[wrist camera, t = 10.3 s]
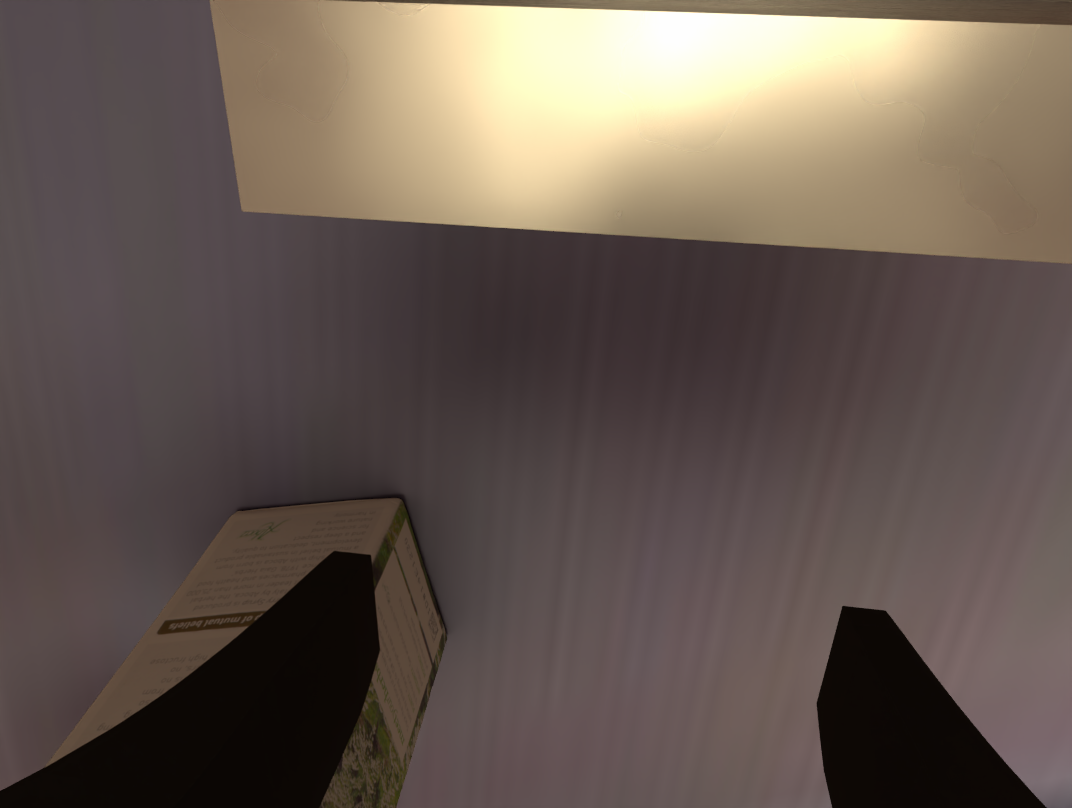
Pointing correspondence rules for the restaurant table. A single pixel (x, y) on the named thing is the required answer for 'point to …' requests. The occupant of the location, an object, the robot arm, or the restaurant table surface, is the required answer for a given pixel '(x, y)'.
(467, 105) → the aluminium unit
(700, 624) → the restaurant table surface
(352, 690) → the robot arm
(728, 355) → the restaurant table surface
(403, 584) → the syrup box
